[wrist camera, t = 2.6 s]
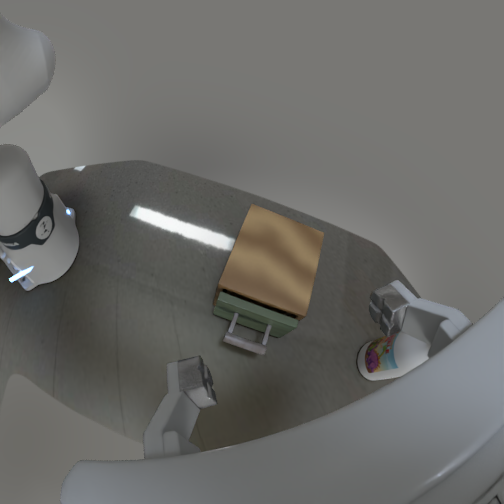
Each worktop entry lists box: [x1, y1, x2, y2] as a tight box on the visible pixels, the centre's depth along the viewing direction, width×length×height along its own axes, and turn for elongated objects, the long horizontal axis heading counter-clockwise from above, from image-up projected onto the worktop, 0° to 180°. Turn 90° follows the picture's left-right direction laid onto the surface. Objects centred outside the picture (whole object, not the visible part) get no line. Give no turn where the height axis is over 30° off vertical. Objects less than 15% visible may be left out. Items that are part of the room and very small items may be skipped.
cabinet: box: [213, 204, 324, 321], centre depth 43 cm, size 15×13×10 cm
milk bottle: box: [357, 331, 431, 380], centre depth 36 cm, size 8×8×20 cm
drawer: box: [213, 290, 299, 355], centre depth 41 cm, size 18×11×8 cm, turn 162°
